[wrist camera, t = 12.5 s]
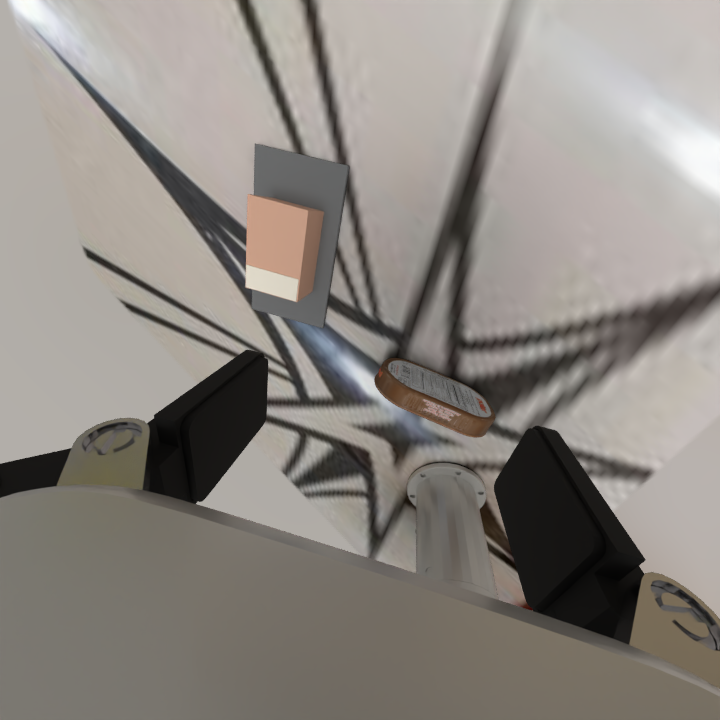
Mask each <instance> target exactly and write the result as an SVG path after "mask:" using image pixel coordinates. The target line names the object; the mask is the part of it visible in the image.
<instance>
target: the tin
mask: <svg viewBox="0 0 720 720" xmlns="http://www.w3.org/2000/svg"><path fill="white" fill-rule="evenodd" d="M375 385H376V387H377V389H378V390H379V392H380V393H381V394H382V395H383V396H384V397H385V398H386V399H388V400H389V401H390V402H392V403H393V404H395V405H396V406H398V407H400V408H402V409H404V410H407V411H409V412H411V413H414V414H416V415H418V416H421V417H423V418H426V419H428V420H430V421H433V422H435V423H437V424H439V425H442V426H444V427H446V428H449V429H451V430H453V431H456V432H458V433H460V434H463V435H466V436H469V437H482V436H484V435H485V434H486V432H487V430H488V428H489V427H490V426H491V424H492V423H493V422H494V420H495V414H494V411H493V409H492V408H491V406H490V404H489V403H488V401H487V400H486V399H485V398H484V397H483V396H482V395H480V394H479V393H478V392H476V391H475V390H473V389H472V388H470V387H468V386H467V385H465V384H463V383H460V382H458V381H456V380H454V379H451V378H449V377H447V376H444V375H442V374H440V373H437V372H435V371H433V370H430V369H428V368H426V367H423V366H421V365H419V364H416V363H414V362H411V361H408V360H405V359H400V358H390V359H387V360H386V361H385V362H384V363H383V364H382V366H381V368H380V370H379V372H378V374H377V375H376V376H375Z"/></svg>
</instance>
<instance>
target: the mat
mask: <svg viewBox="0 0 720 720" xmlns="http://www.w3.org/2000/svg"><path fill="white" fill-rule="evenodd" d="M348 174H349V166H347V165H343V164H338V163H334V162H330V161H326V160H322V159H317V158H313V157H309V156H305V155H301V154H296V153H292V152H288V151H284V150H280V149H275V148H271V147H267V146H263V145H259V144H255V164H254V195H258V196H265V197H272V198H276V199H279V200H283V201H287V202H290V203H294V204H298V205H302V206H305V207H309V208H313V209H316V210H320V211H324V216H323V223H322V230H321V237H320V243H319V250H318V257H317V264H316V271H315V278H314V284H313V291H312V292H311V293H310V294H308V295H307V296H305V297H304V298H303V299H301V300H300V301H298V302H294V301H291V300H288V299H284V298H281V297H277V296H274V295H270V294H267V293H263V292H260V291H257V290H253V289H252V309H255V310H259V311H262V312H266V313H269V314H273V315H277V316H280V317H284V318H288V319H291V320H295V321H298V322H302V323H306V324H309V325H313V326H317V327H320V328H323V327H324V324H325V318H326V311H327V305H328V299H329V293H330V286H331V280H332V274H333V268H334V261H335V255H336V249H337V243H338V236H339V230H340V224H341V217H342V211H343V205H344V199H345V192H346V186H347V180H348Z"/></svg>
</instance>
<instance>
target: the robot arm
mask: <svg viewBox="0 0 720 720" xmlns="http://www.w3.org/2000/svg"><path fill="white" fill-rule="evenodd" d="M267 383H268V360H267V359H266V358H264V355H263V354H262V353H259V352H255V351H251V350H245V351H244V352H243V353H241V354H240V355H238V356H237V357H235V358H234V359H233V360H231V361H230V362H228V363H227V364H226V365H224V366H223V367H221V368H220V369H219V370H217V371H216V372H214V373H213V374H211V375H210V376H209V377H207V378H206V379H204V380H203V381H202V382H200V383H199V384H197V385H196V386H195V387H193V388H192V389H190V390H189V391H187V392H186V393H185V394H183V395H182V396H180V397H179V398H178V399H176V400H175V401H174V402H172V403H171V404H169V405H168V406H166V407H165V408H164V409H162V410H161V411H159V412H158V413H156V414H155V415H154V419H153V420H151V421H150V422H148V423H145V421H142V420H139V419H135V418H120V419H114V420H110V421H106V422H103V423H101V424H98V425H96V426H94V427H92V428H90V429H88V430H86V431H85V432H84V433H83V434H81V435H80V436H79V437H78V438H77V439H76V441H75V442H74V444H73V446H72V448H70V449H66V450H62V451H57V452H52V453H47V454H43V455H39V456H34V457H30V458H25V459H20V460H15V461H11V462H7V463H2V464H0V720H720V619H719V618H718V617H717V615H716V614H715V613H714V612H713V611H712V610H711V609H710V608H709V607H708V606H707V605H706V604H705V603H704V602H703V601H702V600H701V599H699V598H698V597H697V596H696V595H694V594H693V593H692V592H691V591H690V590H688V589H687V588H685V587H684V586H682V585H681V584H679V583H678V582H676V581H675V580H673V579H671V578H668V577H666V576H664V575H662V574H658V573H653V572H650V573H645V574H644V573H643V571H642V570H641V568H640V567H639V565H640V564H641V563H642V562H644V561H645V558H644V557H643V555H642V554H641V553H640V551H639V550H638V548H637V547H636V545H635V544H634V542H633V541H632V539H631V538H630V537H629V535H628V534H627V532H626V531H625V529H624V528H623V526H622V525H621V523H620V522H619V520H618V519H617V517H616V516H615V515H614V513H613V512H612V510H611V509H610V507H609V506H608V504H607V503H606V501H605V500H604V499H603V497H602V496H601V494H600V493H599V491H598V490H597V488H596V487H595V485H594V484H593V482H592V481H591V480H590V478H589V477H588V475H587V474H586V472H585V471H584V469H583V468H582V466H581V465H580V463H579V462H578V461H577V459H576V458H575V456H574V455H573V453H572V452H571V450H570V449H569V447H568V446H567V445H566V443H565V442H564V440H563V439H562V437H561V436H560V434H559V433H558V432H557V431H555V430H552V429H548V428H544V427H541V426H535V427H533V428H532V429H531V428H530V429H528V430H527V431H526V432H525V434H524V435H523V437H522V439H521V440H520V442H519V444H518V445H517V447H516V448H515V450H514V452H513V453H512V455H511V457H510V458H509V460H508V461H507V463H506V465H505V466H504V468H503V470H502V471H501V473H500V474H499V476H498V478H497V479H496V481H495V484H494V492H495V495H496V499H497V502H498V506H499V509H500V513H501V516H502V520H503V523H504V527H505V530H506V533H507V537H508V540H509V544H510V547H511V551H512V554H513V558H514V561H515V565H516V568H517V571H518V575H519V578H520V582H521V585H522V589H523V592H524V596H525V599H526V602H527V603H528V605H529V606H530V607H531V608H533V611H531V610H527V609H524V608H521V607H518V606H515V605H512V604H509V603H506V602H503V601H500V600H499V598H498V593H497V589H496V584H495V580H494V575H493V570H492V566H491V561H490V556H489V552H488V547H487V543H486V538H485V533H484V529H483V524H482V520H481V515H480V510H479V509H480V508H481V507H482V506H483V505H484V503H485V501H486V490H485V486H484V483H483V482H482V480H481V479H480V477H479V476H478V475H477V474H475V473H474V472H473V471H471V470H469V469H467V468H465V467H463V466H460V465H456V464H451V463H434V464H430V465H426V466H423V467H421V468H419V469H418V470H416V471H415V472H414V473H413V474H412V475H411V476H410V478H409V480H408V483H407V494H408V497H409V499H410V501H411V502H412V504H413V505H414V506H415V507H416V573H414V572H410V571H407V570H404V569H401V568H398V567H395V566H392V565H389V564H385V563H382V562H379V561H376V560H373V559H370V558H367V557H364V556H360V555H357V554H354V553H351V552H348V551H345V550H342V549H338V548H335V547H332V546H329V545H326V544H322V543H320V542H317V541H313V540H310V539H307V538H303V537H301V536H297V535H294V534H291V533H287V532H285V531H281V530H278V529H275V528H271V527H269V526H265V525H262V524H259V523H256V522H253V521H250V520H246V519H243V518H240V517H236V516H234V515H230V514H227V513H224V512H221V511H217V510H213V509H210V508H207V507H203V506H200V505H197V504H196V503H197V501H199V502H201V501H203V500H204V499H205V498H206V497H207V496H208V494H209V493H210V492H211V491H212V489H213V488H214V487H215V486H216V484H217V483H218V482H219V481H220V479H221V478H222V476H223V475H224V474H225V473H226V472H227V470H228V469H229V468H230V467H231V465H232V464H233V463H234V461H235V460H236V459H237V458H238V456H239V455H240V454H241V453H242V451H243V450H244V449H245V447H246V446H247V445H248V444H249V442H250V441H251V440H252V439H253V437H254V436H255V435H256V433H257V432H258V431H259V430H260V428H261V427H262V426H263V424H264V422H265V420H266V413H267Z"/></svg>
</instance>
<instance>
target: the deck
mask: <svg viewBox="0 0 720 720" xmlns="http://www.w3.org/2000/svg"><path fill="white" fill-rule="evenodd" d="M323 216H324V211H320V210H316V209H313V208H309V207H305V206H302V205H298V204H294V203H290V202H287V201H283V200H279V199H276V198H272V197H265V196H258V195H250V194H248V207H247V249H246V288H250V289H253V290H257V291H260V292H263V293H267V294H270V295H274V296H277V297H281V298H284V299H288V300H291V301H294V302H298V301H300V300H301V299H303V298H304V297H305V296H307V295H308V294H310V293H311V292H312V291H313V284H314V278H315V271H316V264H317V257H318V250H319V243H320V237H321V230H322V223H323Z"/></svg>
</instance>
